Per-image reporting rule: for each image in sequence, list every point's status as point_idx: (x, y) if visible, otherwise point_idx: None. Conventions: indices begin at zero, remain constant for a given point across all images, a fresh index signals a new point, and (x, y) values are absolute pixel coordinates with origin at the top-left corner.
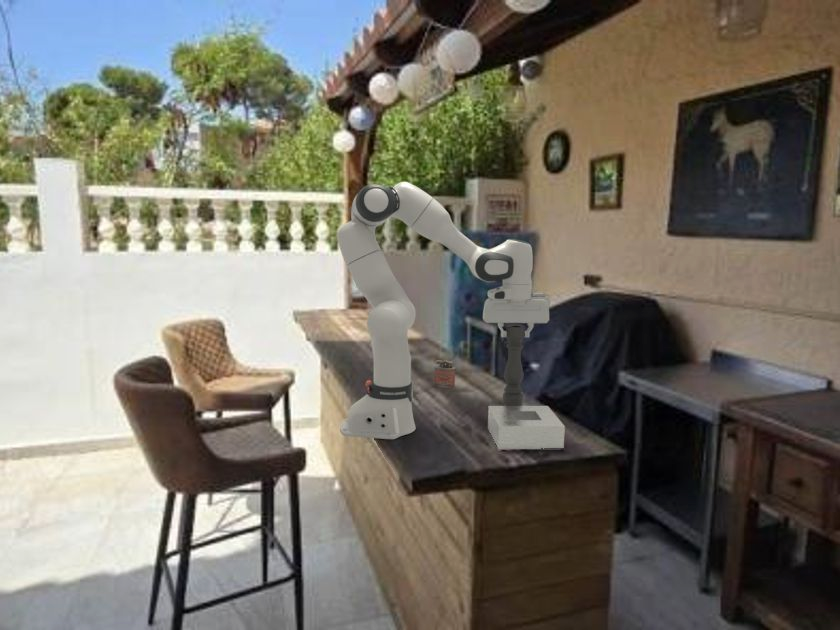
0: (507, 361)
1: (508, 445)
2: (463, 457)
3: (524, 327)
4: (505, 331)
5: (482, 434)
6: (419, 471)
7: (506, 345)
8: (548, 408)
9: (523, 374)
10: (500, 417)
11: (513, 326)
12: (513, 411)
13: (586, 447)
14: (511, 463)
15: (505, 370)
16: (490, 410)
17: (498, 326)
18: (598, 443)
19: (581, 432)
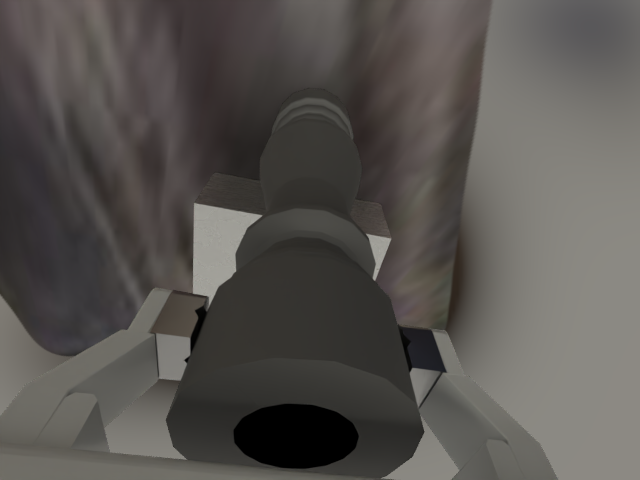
0: (267, 195)
1: None
2: (132, 309)
3: (382, 471)
4: (178, 362)
5: (190, 210)
6: (50, 339)
7: (235, 254)
8: (378, 259)
9: (358, 188)
10: (209, 295)
11: (261, 444)
12: None
13: (396, 313)
14: None
15: (261, 177)
16: (194, 234)
17: (48, 382)
18: (434, 302)
19: (447, 245)
